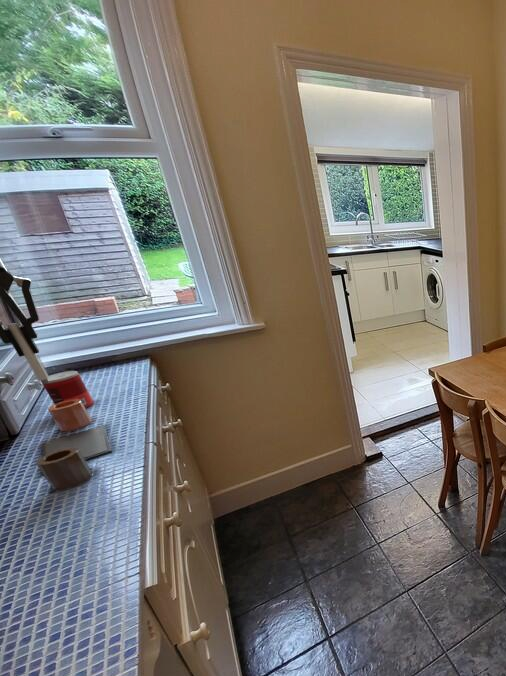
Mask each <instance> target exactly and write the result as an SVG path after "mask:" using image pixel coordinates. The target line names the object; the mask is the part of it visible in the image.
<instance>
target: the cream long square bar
mask: <svg viewBox="0 0 506 676" xmlns="http://www.w3.org/2000/svg"><path fill="white" fill-rule="evenodd" d="M20 326H21V325H20V324H19V323H18V322H14V323H8V324H6V328H9V330H10V332H11V333H12V335H13V337H14V339H15V340H16V342H17V344H18V345H19V347H20V349H21V351H22V352H23V354H24V356H23V357H24V358H25V360H26V362H27V363H28V365H29V367H30V368H31V370H32V372H33V373H34V375H35V377H36V380H38V381H40V382H41V384H42V385H43V384H45V383H49V381H48V378H49V377H48V376H49V375H48V374H47V372H46V370H45V369H44V367H43V365H42V363H41V361H40V360H39V358H38V356H37V353H36V354H34V352H33V351H32V349H31V347H30V346H29V344H28V342H27V340H26V339H25V337H24V335H23V334H22V332H21V330H20V328H19V327H20Z"/></svg>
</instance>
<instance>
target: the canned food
mask: <svg viewBox="0 0 506 676" xmlns="http://www.w3.org/2000/svg"><path fill="white" fill-rule="evenodd" d="M47 376H48V377H49V378H48V381H49V383H45V384H42V386H43V388H44V389H45V391H46V393H47V394H48V396H49V398H50V399H51V401H52V403H53V405H54V404H57V403H60V402H63V401H67V400H73V399H80V400H81V402H82V403H83V405H84V407H85V409H87V408H89V407H92V405H93V404H94V400H93V398H92V396H91V394H90V392H89V390H88V388H87V387H86V384H85V382H84V381H83V379H82V377H81V375H80V373H78V371H77V370H68V371H67V370H66V371H61V372H57V373H54V374H49V375H47Z"/></svg>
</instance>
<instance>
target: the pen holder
mask: <svg viewBox="0 0 506 676" xmlns="http://www.w3.org/2000/svg"><path fill="white" fill-rule="evenodd" d="M47 410H48V412H49V413H50V416H51V417H52V419H53V421H54V422H55V424H56V426H57V427H58V429H59V430H60V431H61V432H70V431H74V430H78V429H81V428H83V427H86V426H88V425H90V424H91V423H92V421H93V420H92V418H91V416H90V414H89V412H88V411H87V408H85V407H84V405H83V403H82V402H81V400H80V399H73V400H67V401H63V402H60V403H57V404H54V403H53V404H52V405H50V406H49V407H47Z"/></svg>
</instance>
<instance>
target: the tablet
mask: <svg viewBox="0 0 506 676" xmlns="http://www.w3.org/2000/svg"><path fill="white" fill-rule="evenodd" d="M109 439H110V438H109V436H108V432H107V429H106V425H105V424H102V425H100V426H96V427H92V428H89V429H86V430H82V431H79V432H76V433H73V434H69V435H66V436H62V437H59V438H56V439H53V440H50V441H46V442H43V443H41V458H42V457H43V456H45V455H47V454H49V453H51V452H55V451H57V450H61V449H65V448H71V447H75V448H78V449H79V451H80V453H81V454H82V456H83V458H84V459H85V461H86V462H87V461H90V460H93V459H97V458H98V457H103V456H105V455H108V454H111V453H113V450H112V446H111V442H110V440H109ZM40 472H41V471H40ZM41 476H42V477H44V475H43V473H42V472H41Z"/></svg>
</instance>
